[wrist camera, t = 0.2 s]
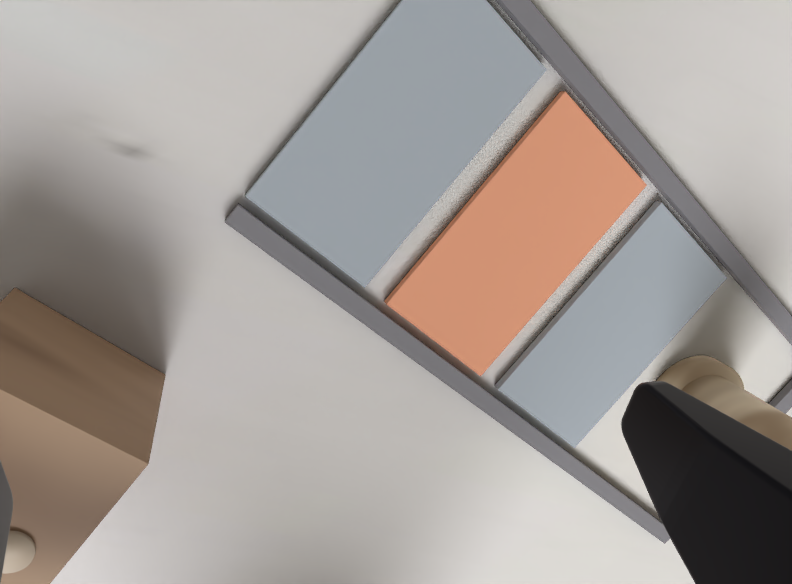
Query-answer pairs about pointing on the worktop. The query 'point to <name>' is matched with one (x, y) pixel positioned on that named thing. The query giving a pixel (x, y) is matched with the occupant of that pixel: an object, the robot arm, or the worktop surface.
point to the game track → (497, 221)
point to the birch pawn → (728, 396)
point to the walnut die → (66, 432)
